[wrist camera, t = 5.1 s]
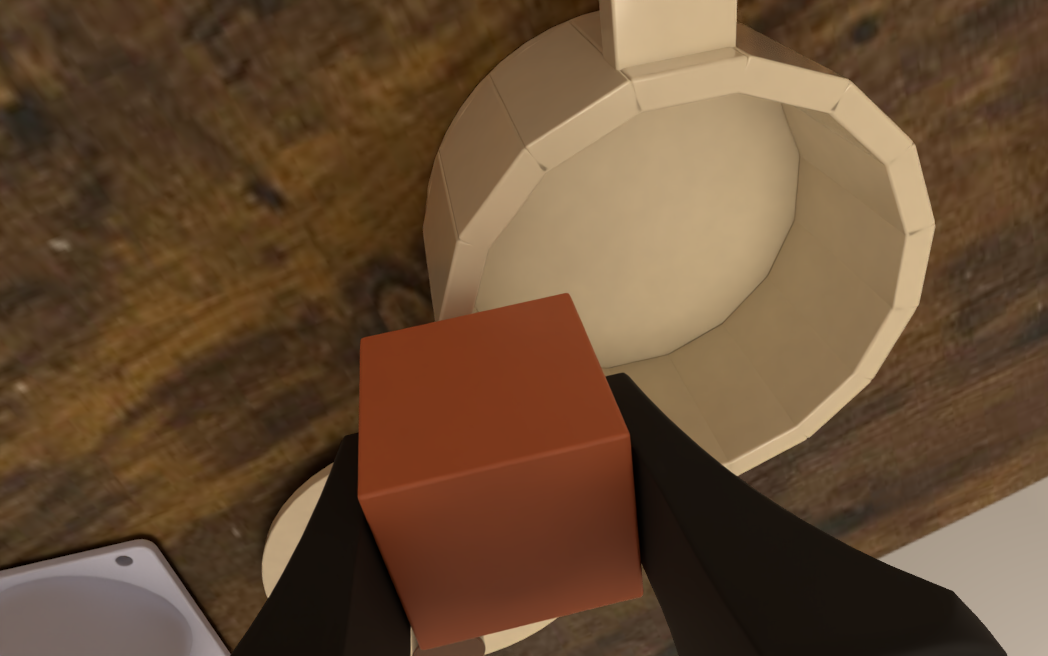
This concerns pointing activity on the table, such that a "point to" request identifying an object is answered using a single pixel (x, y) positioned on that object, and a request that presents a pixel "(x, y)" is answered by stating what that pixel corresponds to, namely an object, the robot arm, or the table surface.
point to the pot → (688, 216)
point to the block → (496, 471)
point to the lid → (288, 535)
